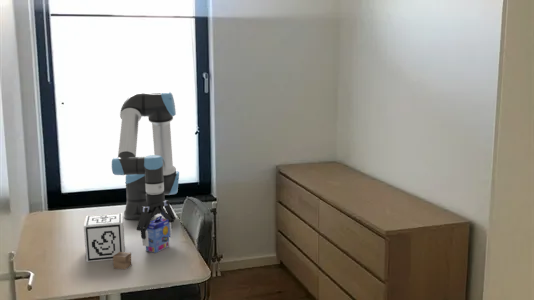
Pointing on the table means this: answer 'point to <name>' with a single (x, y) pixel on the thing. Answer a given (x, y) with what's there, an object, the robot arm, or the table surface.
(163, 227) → the ink cartridge box
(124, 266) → the walnut cube
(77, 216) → the table surface
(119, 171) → the robot arm
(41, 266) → the table surface
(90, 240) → the block
